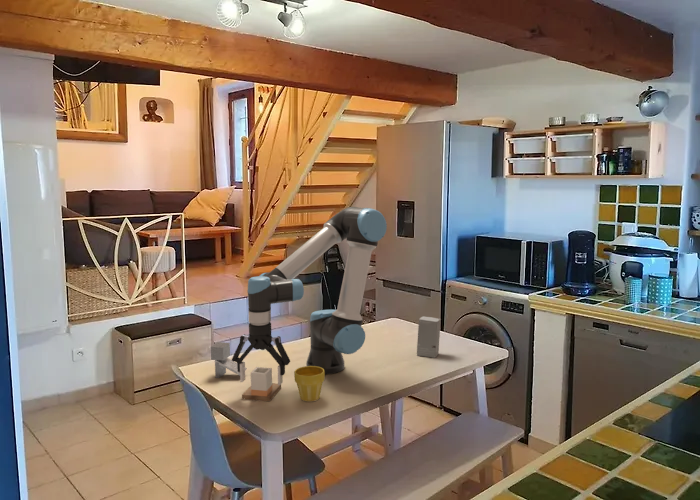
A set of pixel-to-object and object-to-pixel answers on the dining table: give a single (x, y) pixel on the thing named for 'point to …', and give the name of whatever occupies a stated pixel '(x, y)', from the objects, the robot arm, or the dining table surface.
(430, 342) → the skincare box
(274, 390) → the pin board
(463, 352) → the dining table surface
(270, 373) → the sleeve
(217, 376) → the chute
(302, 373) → the plant pot
